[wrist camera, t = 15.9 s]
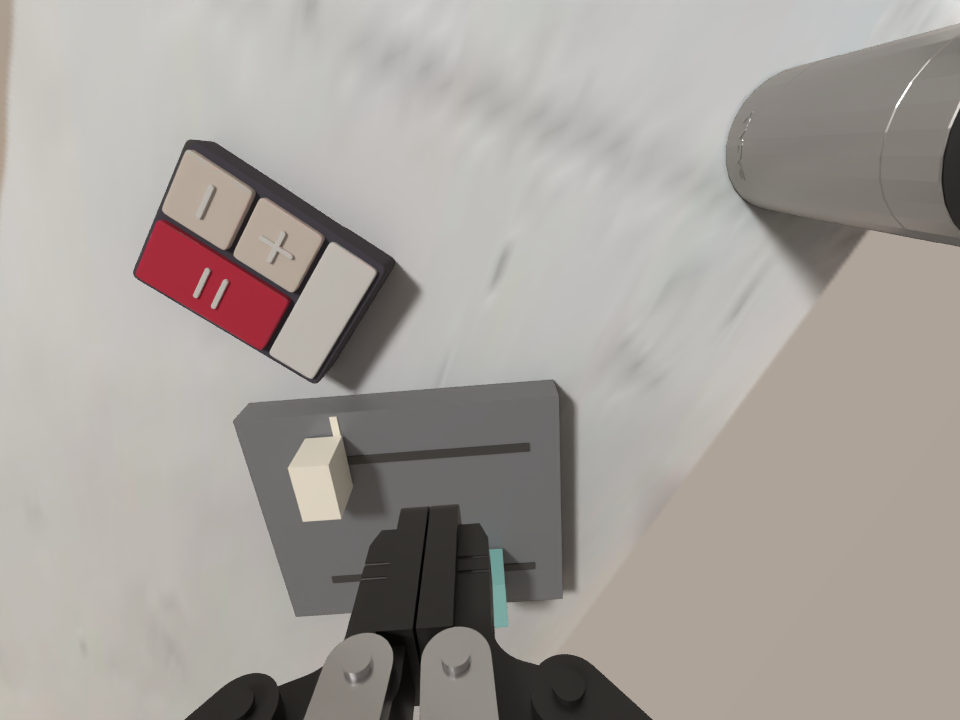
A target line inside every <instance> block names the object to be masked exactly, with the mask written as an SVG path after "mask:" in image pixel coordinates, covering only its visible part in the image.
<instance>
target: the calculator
mask: <svg viewBox="0 0 960 720" xmlns="http://www.w3.org/2000/svg"><path fill="white" fill-rule="evenodd" d="M394 265H395V261H394V259H393V258H392V257H391V256H389V255H388V254H386V253H385V252H383V251H382V250H380V249H378V248H377V247H375V246H374V245H372V244H371V243H369V242H368V241H366V240H365V239H363V238H362V237H360V236H358V235H357V234H355V233H354V232H352V231H351V230H349V229H347V228H345V227H343V226H341V225H339V224H338V223H336V222H335V221H333V220H332V219H330V218H329V217H327V216H326V215H324V214H323V213H321V212H320V211H318V210H317V209H315V208H314V207H312V206H311V205H309V204H308V203H306V202H305V201H303V200H302V199H300V198H299V197H298V196H296V195H295V194H293V193H292V192H290V191H289V190H287V189H286V188H284V187H283V186H281V185H280V184H278V183H277V182H275V181H274V180H272V179H270V178H269V177H267V176H266V175H264V174H263V173H261V172H260V171H258V170H257V169H255V168H254V167H252V166H251V165H249V164H247V163H246V162H244V161H243V160H241V159H240V158H238V157H237V156H235V155H234V154H232V153H231V152H229V151H227V150H226V149H224V148H223V147H221V146H220V145H218V144H217V143H215V142H211V141H201V140H188V141H187V142H186V143H185V145H184V148H183V150H182V153H181V155H180V158H179V160H178V162H177V165H176V167H175V170H174V172H173V175H172V177H171V180H170V182H169V185H168V187H167V189H166V192H165V194H164V197H163V199H162V202H161V204H160V207H159V209H158V211H157V214H156V216H155V219H154V221H153V224H152V226H151V229H150V231H149V234H148V236H147V238H146V241H145V243H144V246H143V248H142V251H141V253H140V256H139V258H138V261H137V263H136V265H135V268H134V271H133V274H134V276H135V278H137V279H138V280H140V281H141V282H143V283H145V284H146V285H148V286H150V287H151V288H153V289H155V290H156V291H158V292H160V293H161V294H163V295H165V296H166V297H168V298H170V299H171V300H173V301H175V302H176V303H178V304H180V305H182V306H183V307H185V308H187V309H188V310H190V311H192V312H193V313H195V314H197V315H198V316H200V317H202V318H203V319H205V320H207V321H208V322H210V323H212V324H213V325H215V326H217V327H219V328H220V329H222V330H224V331H225V332H227V333H229V334H230V335H232V336H234V337H235V338H237V339H239V340H240V341H242V342H244V343H245V344H247V345H249V346H250V347H252V348H254V349H256V350H257V351H259V352H261V353H262V354H264V355H266V356H267V357H269V358H271V359H272V360H274V361H276V362H277V363H279V364H281V365H282V366H284V367H286V368H287V369H289V370H291V371H293V372H294V373H296V374H298V375H299V376H301V377H303V378H304V379H306V380H308V381H309V382H311V383H318V382H319V381H320V380H321V379H322V378H323V377H324V375H325V374H326V373H327V372H328V371H329V369H330V368H331V367H332V366H333V364H334V363H335V361H336V360H337V358H338V356H339V355H340V353H341V351H342V350H343V348H344V347H345V345H346V343H347V342H348V340H349V338H350V337H351V335H352V334H353V332H354V330H355V329H356V327H357V325H358V324H359V322H360V321H361V319H362V317H363V316H364V314H365V312H366V311H367V309H368V308H369V306H370V304H371V303H372V301H373V299H374V298H375V296H376V295H377V293H378V291H379V290H380V288H381V286H382V285H383V283H384V282H385V280H386V278H387V277H388V275H389V273H390V272H391V270H392V269H393V267H394Z"/></svg>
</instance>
